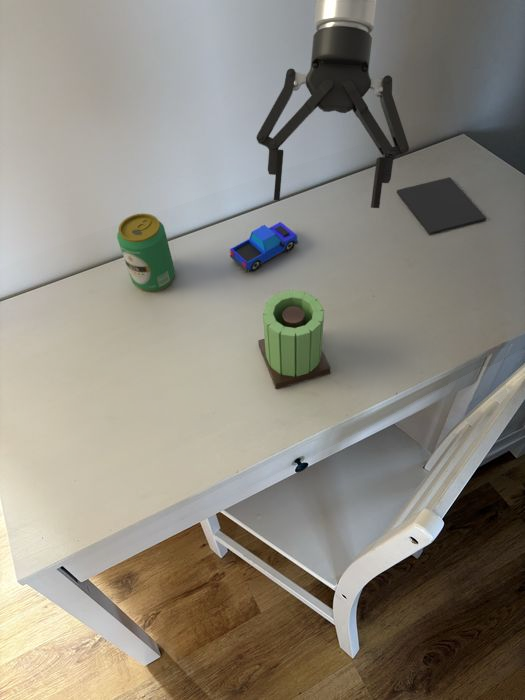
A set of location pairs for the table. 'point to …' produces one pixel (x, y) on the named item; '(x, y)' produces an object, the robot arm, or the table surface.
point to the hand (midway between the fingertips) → (325, 204)
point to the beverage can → (146, 252)
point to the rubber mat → (440, 205)
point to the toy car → (263, 246)
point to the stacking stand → (295, 319)
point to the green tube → (293, 334)
